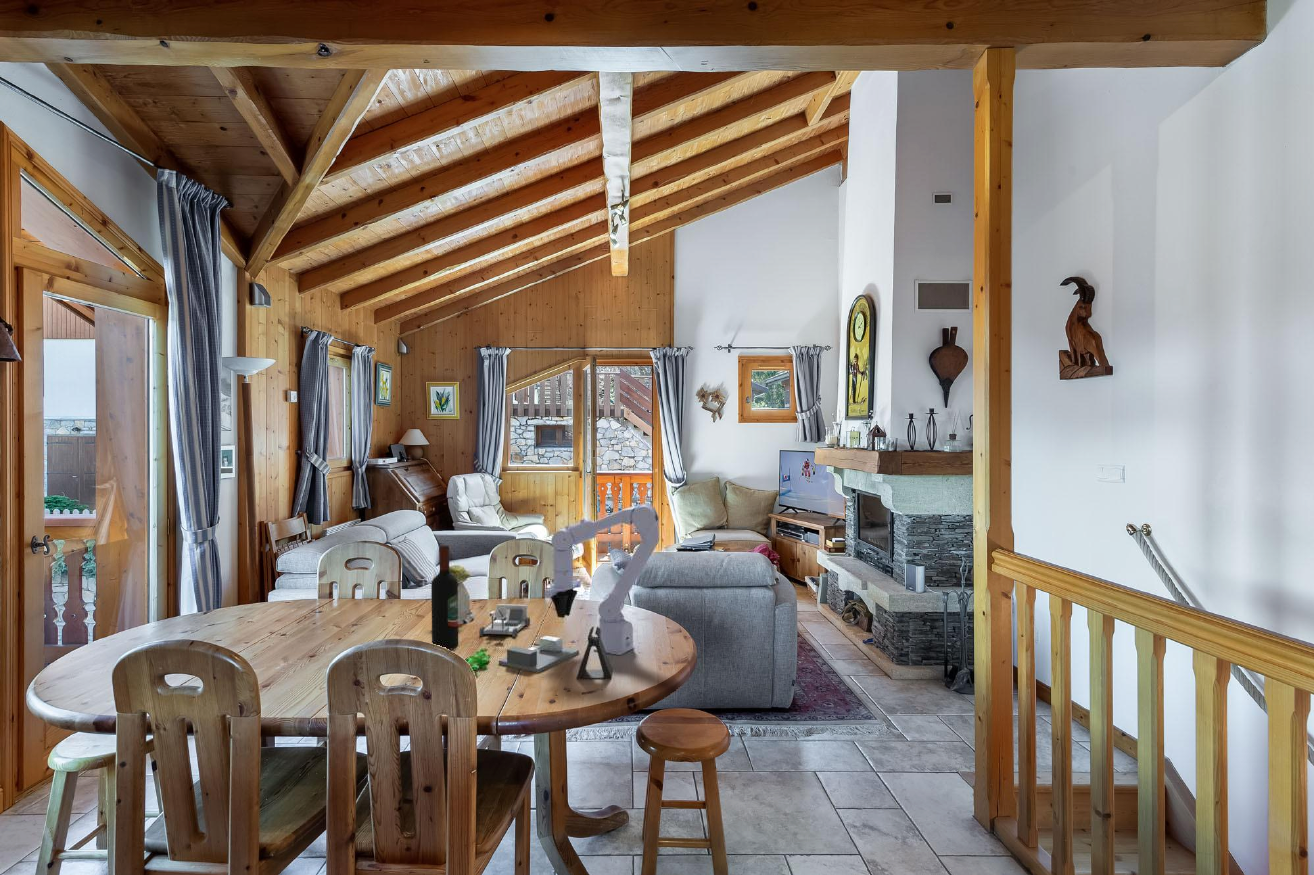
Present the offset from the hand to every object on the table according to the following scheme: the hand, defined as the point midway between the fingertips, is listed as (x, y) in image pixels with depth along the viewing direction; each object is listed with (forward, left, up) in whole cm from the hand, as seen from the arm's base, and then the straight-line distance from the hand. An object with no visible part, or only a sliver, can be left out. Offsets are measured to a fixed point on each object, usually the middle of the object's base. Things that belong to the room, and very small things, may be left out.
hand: (563, 616), depth 205 cm
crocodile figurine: (+10, +27, -10) cm, 30 cm away
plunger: (+2, +6, -8) cm, 10 cm away
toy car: (+27, -4, -10) cm, 29 cm away
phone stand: (-21, +14, -10) cm, 27 cm away
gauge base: (0, +11, -9) cm, 14 cm away
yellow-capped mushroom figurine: (+51, -6, -10) cm, 52 cm away
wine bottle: (+32, +16, -10) cm, 37 cm away
